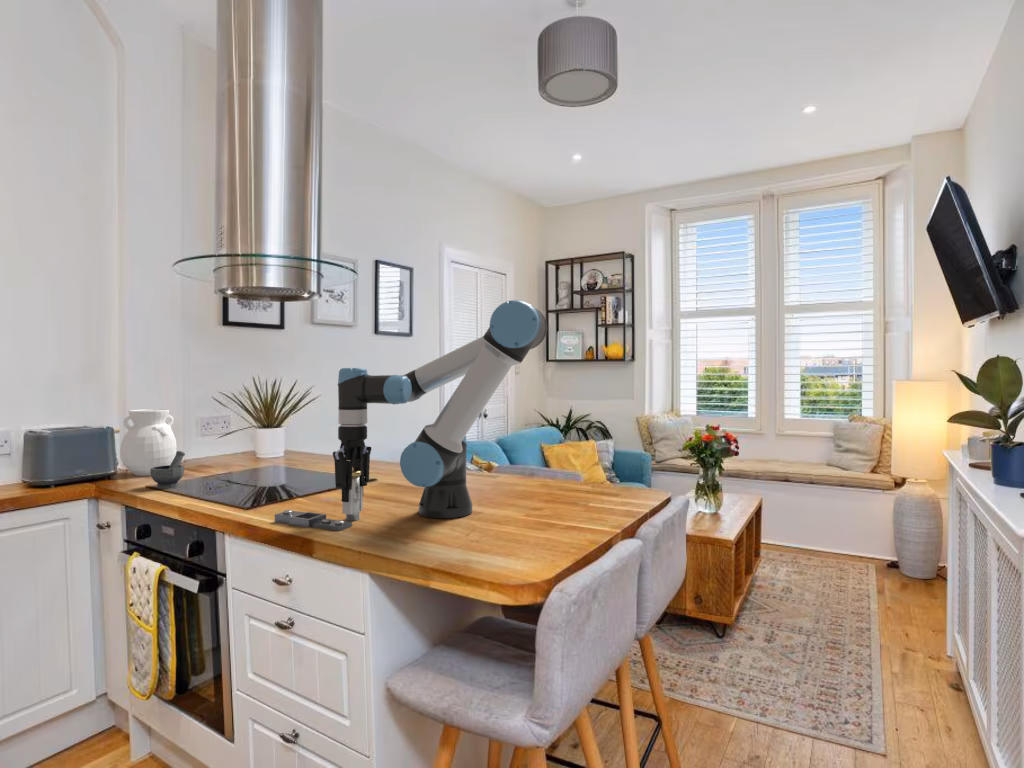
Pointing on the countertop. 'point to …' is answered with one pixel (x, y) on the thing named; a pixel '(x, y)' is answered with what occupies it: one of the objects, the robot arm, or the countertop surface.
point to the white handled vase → (148, 441)
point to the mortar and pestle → (169, 473)
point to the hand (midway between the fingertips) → (352, 511)
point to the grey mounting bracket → (310, 520)
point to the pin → (355, 496)
